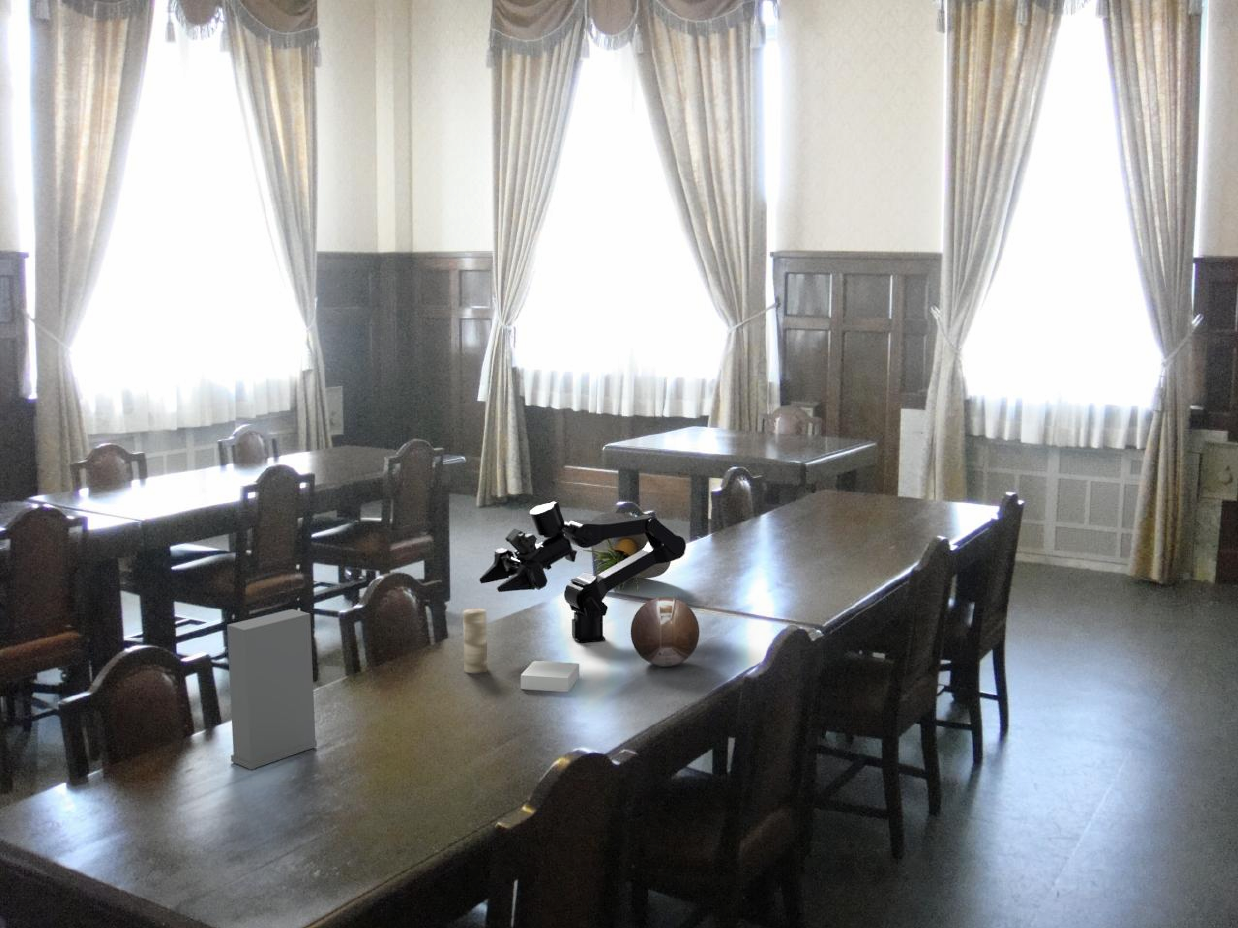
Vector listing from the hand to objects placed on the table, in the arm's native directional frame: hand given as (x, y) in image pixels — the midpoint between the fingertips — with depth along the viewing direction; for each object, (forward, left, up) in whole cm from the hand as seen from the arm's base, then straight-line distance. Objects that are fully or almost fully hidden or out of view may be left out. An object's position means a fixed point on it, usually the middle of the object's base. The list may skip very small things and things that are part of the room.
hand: (488, 585), depth 277 cm
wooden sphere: (-35, +19, -16) cm, 43 cm away
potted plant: (-49, -53, -16) cm, 74 cm away
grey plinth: (-8, +23, -16) cm, 29 cm away
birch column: (+5, +9, -16) cm, 19 cm away
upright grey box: (+49, +46, -16) cm, 70 cm away
